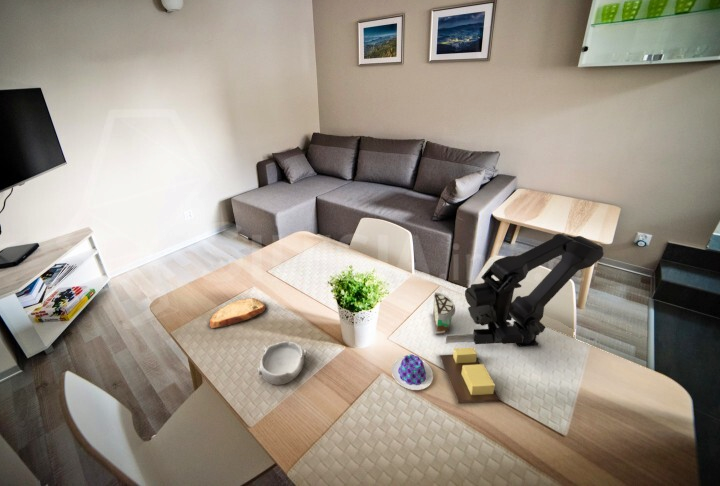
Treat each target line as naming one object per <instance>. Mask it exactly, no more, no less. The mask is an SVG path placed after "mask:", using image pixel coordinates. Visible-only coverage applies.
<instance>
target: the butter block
mask: <svg viewBox="0 0 720 486" xmlns="http://www.w3.org/2000/svg"><path fill="white" fill-rule="evenodd" d="M461 374H462V376H463V378H464V380H465V383H466V385H467V387H468V389H469V391H470V393H471V395H483V394H493V392H494V389H495V388H496V384H495V383H494V381H493V379H492V377H491V375H490V374H489V371H488V370H487V368H486V366H485V364H484V363H480V364H477V365H463V366H462V373H461Z"/></svg>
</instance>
